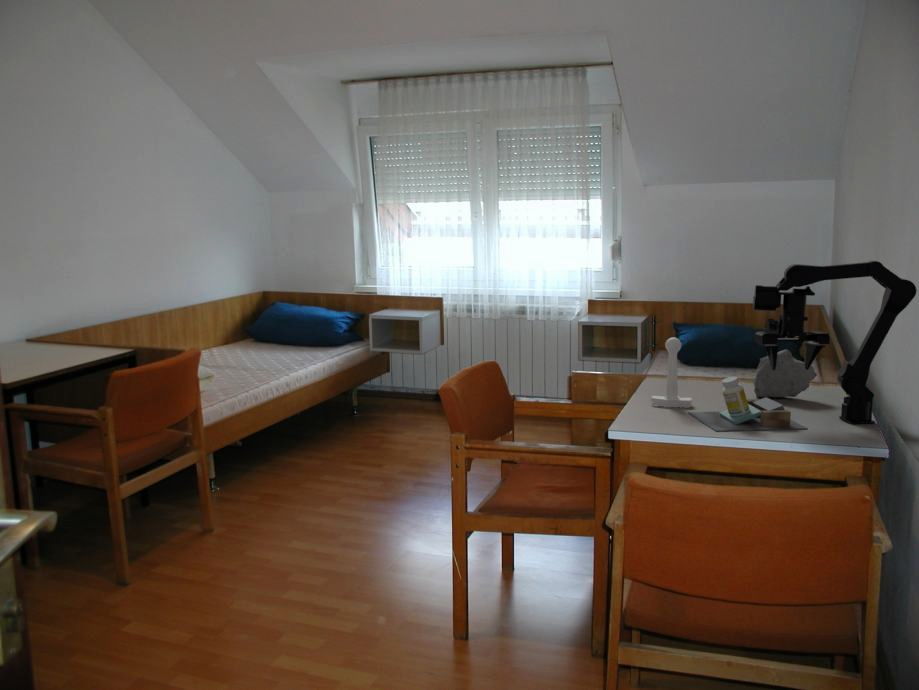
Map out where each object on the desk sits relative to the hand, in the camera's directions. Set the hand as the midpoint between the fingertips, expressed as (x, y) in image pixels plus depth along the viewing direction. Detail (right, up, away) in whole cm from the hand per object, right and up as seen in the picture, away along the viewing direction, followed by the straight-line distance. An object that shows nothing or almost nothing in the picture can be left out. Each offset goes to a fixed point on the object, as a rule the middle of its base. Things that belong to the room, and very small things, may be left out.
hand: (789, 369), depth 216 cm
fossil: (+9, -10, +25) cm, 28 cm away
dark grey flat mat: (-13, -14, -2) cm, 19 cm away
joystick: (-27, -11, +18) cm, 34 cm away
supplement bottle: (-14, -12, -3) cm, 19 cm away
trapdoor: (-11, -13, -2) cm, 16 cm away
